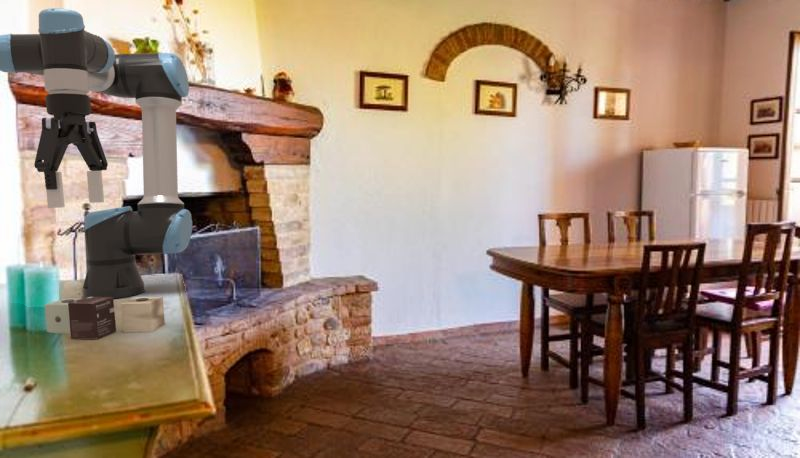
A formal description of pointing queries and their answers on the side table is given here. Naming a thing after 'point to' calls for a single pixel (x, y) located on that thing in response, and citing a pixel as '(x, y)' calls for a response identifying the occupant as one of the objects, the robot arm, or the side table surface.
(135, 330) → the beech block marked
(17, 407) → the side table surface
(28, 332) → the side table surface
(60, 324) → the sage block partly covered
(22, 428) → the side table surface
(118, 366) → the side table surface
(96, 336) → the box
